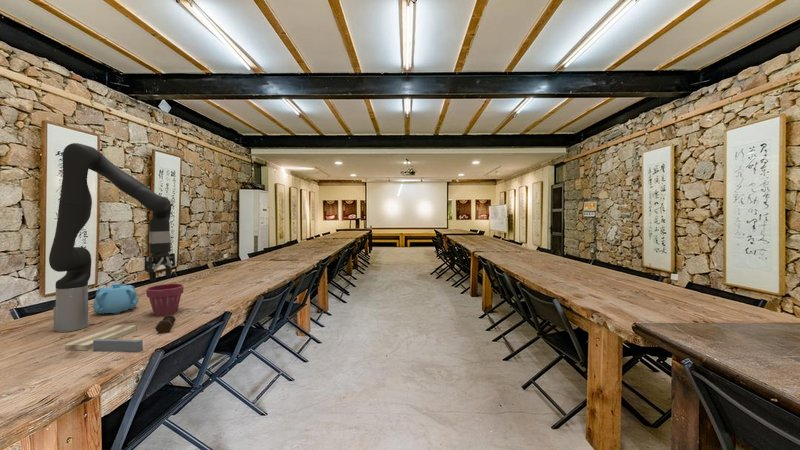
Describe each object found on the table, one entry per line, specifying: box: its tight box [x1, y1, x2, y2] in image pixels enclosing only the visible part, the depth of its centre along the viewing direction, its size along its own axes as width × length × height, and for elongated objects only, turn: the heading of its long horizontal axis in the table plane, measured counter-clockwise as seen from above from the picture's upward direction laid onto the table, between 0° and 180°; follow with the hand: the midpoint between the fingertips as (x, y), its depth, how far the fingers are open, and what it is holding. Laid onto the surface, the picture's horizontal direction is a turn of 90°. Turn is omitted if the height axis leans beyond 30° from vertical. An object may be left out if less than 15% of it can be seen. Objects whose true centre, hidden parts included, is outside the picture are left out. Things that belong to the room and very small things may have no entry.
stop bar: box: [92, 338, 144, 353], centre depth 110 cm, size 16×2×4 cm, turn 89°
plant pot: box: [146, 283, 184, 317], centre depth 152 cm, size 14×14×13 cm
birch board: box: [64, 324, 138, 351], centre depth 119 cm, size 8×20×2 cm, turn 179°
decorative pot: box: [92, 282, 139, 315], centre depth 154 cm, size 16×16×14 cm
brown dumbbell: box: [154, 314, 177, 335], centre depth 133 cm, size 6×5×15 cm
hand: (160, 278), depth 139 cm, fingers open, 8 cm apart
